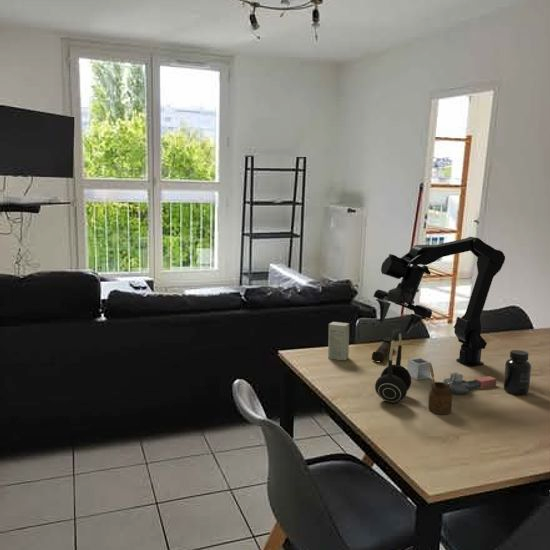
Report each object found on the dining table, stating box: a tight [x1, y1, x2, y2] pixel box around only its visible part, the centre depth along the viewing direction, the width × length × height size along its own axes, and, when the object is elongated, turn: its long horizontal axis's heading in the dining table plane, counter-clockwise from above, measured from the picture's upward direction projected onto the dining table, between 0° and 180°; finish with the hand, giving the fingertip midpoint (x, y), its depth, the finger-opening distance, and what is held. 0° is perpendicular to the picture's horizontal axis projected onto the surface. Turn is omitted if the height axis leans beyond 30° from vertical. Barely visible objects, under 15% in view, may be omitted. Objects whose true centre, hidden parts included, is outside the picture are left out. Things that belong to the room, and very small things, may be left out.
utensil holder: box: [427, 363, 454, 415], centre depth 138 cm, size 6×6×12 cm
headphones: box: [374, 328, 412, 403], centre depth 145 cm, size 9×15×20 cm, turn 157°
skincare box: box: [327, 321, 350, 361], centre depth 178 cm, size 6×4×12 cm
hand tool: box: [371, 336, 392, 363], centre depth 183 cm, size 19×4×5 cm, turn 153°
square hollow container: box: [406, 357, 432, 381], centre depth 163 cm, size 5×5×5 cm
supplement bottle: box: [503, 349, 532, 396], centre depth 152 cm, size 7×7×12 cm
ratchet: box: [442, 372, 497, 396], centre depth 155 cm, size 18×7×5 cm, turn 114°
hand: (393, 328), depth 169 cm, fingers open, 9 cm apart
